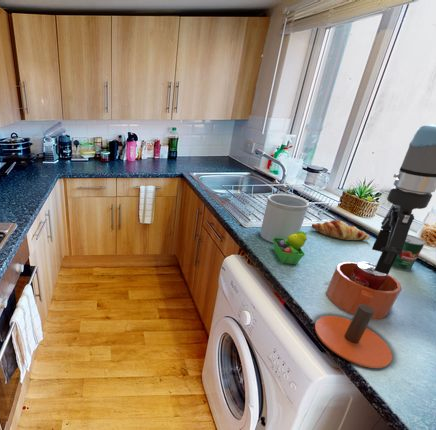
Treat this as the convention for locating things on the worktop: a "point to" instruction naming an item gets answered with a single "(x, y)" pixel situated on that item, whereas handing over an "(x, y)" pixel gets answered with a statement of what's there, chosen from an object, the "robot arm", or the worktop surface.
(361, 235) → the croissant
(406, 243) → the canned tomato
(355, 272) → the soda can
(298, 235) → the fruit basket
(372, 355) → the lid
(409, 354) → the worktop surface
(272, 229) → the utensil holder
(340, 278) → the pot
